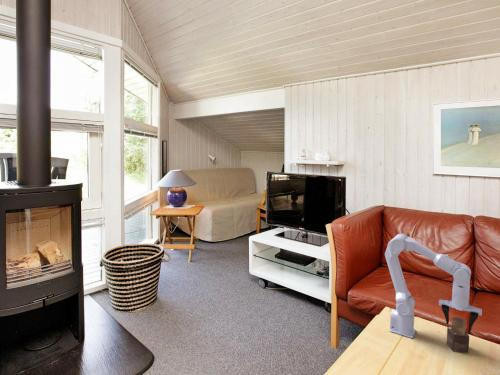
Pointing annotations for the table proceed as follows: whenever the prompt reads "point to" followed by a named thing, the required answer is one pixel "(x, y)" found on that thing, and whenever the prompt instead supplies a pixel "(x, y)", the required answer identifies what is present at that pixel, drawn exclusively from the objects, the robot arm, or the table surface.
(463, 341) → the box
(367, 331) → the table surface
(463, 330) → the walnut block
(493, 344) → the table surface
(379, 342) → the table surface
